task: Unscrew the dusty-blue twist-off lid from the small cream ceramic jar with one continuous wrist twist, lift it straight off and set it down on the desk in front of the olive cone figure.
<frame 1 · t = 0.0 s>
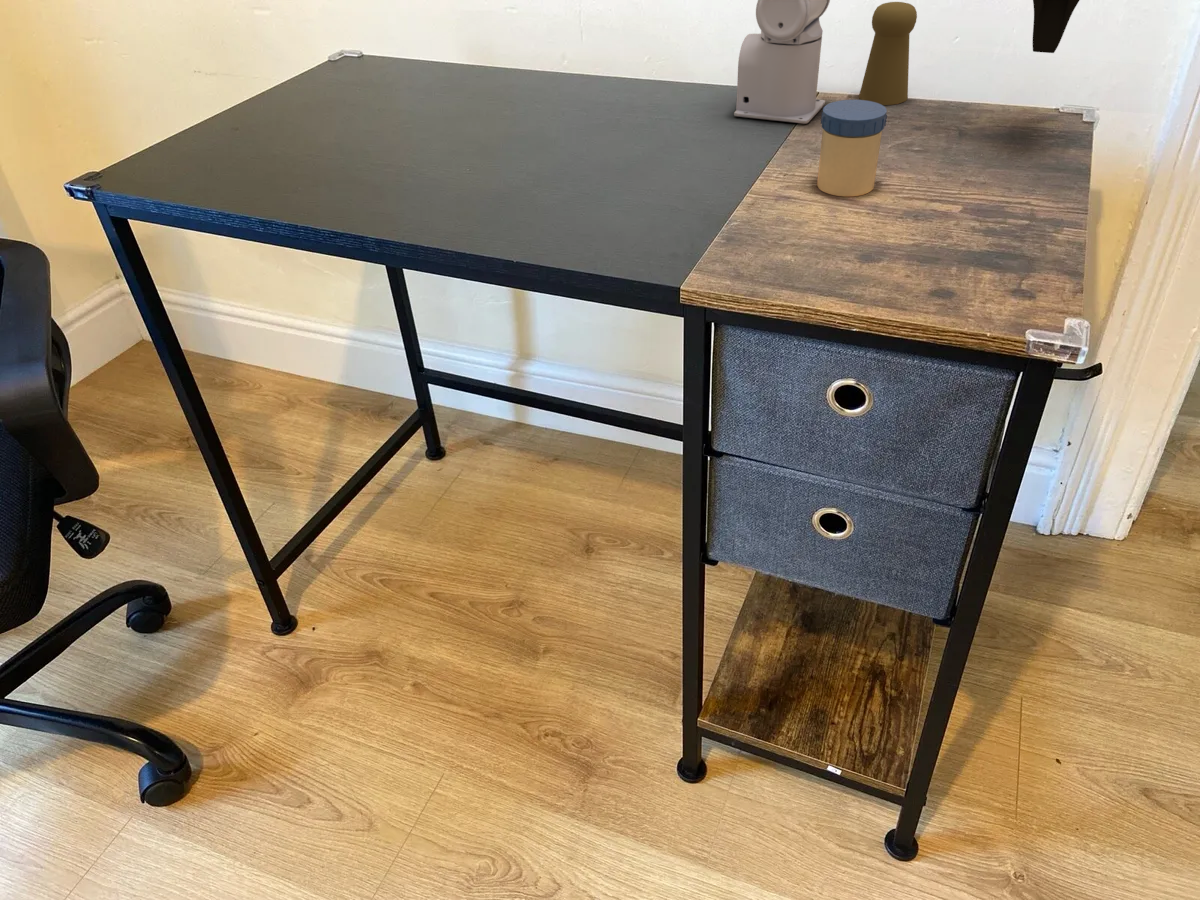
hand: (1047, 41, 93), 10 cm above the table, tool pointing down, fingers open, 7 cm apart
lid: (854, 112, 87), point 7 cm above the table, screwed on, not yet turned
jar: (845, 185, 92), on the table
olive cone figure: (882, 98, 113), on the table
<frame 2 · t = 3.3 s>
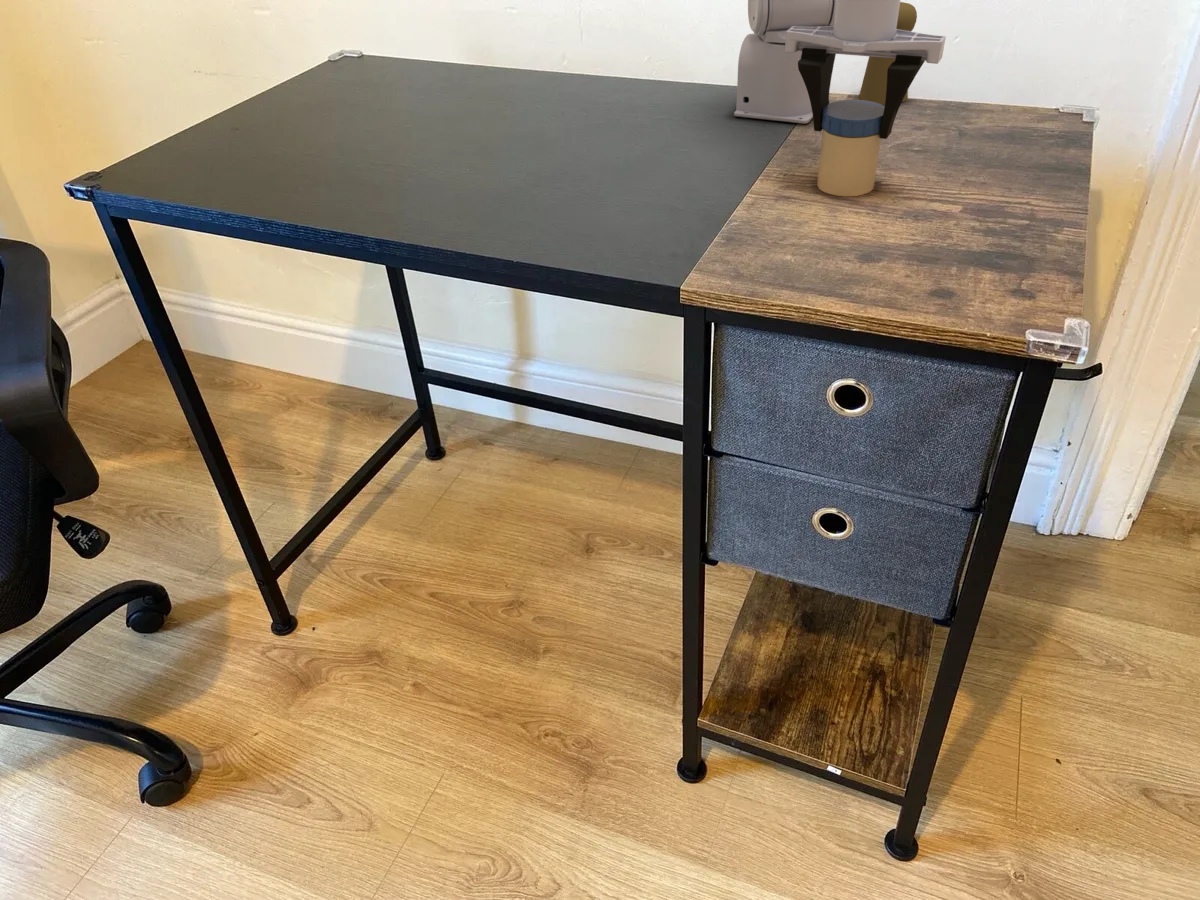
hand: (851, 131, 88), 6 cm above the table, tool pointing down, fingers closed on lid, 6 cm apart
lid: (854, 112, 87), point 7 cm above the table, screwed on, not yet turned, touching gripper
everything else where it was.
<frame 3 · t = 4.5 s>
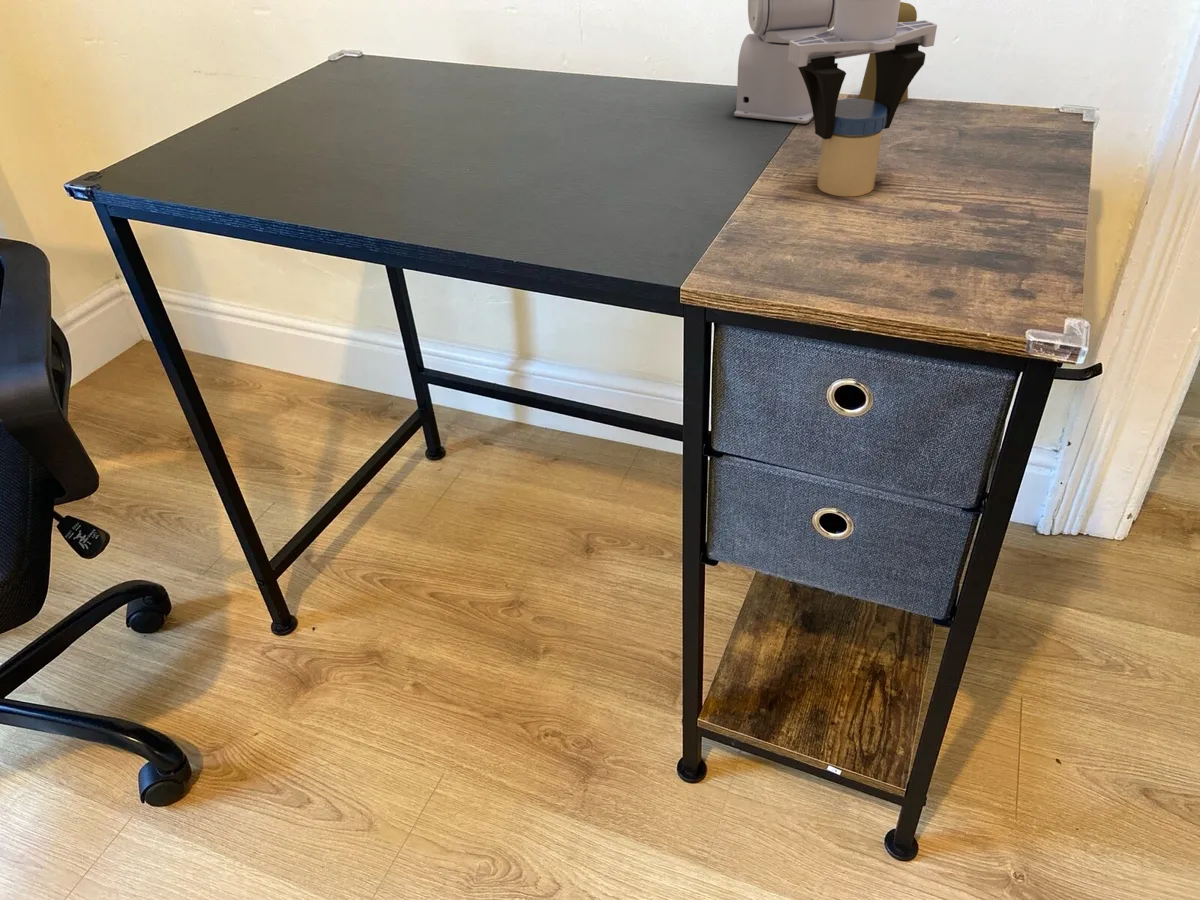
hand: (852, 130, 88), 6 cm above the table, tool pointing down, fingers closed on lid, 6 cm apart
lid: (854, 111, 87), point 8 cm above the table, turned 44° so far, risen 0.1 cm, still on its thread, touching gripper
everything else where it was.
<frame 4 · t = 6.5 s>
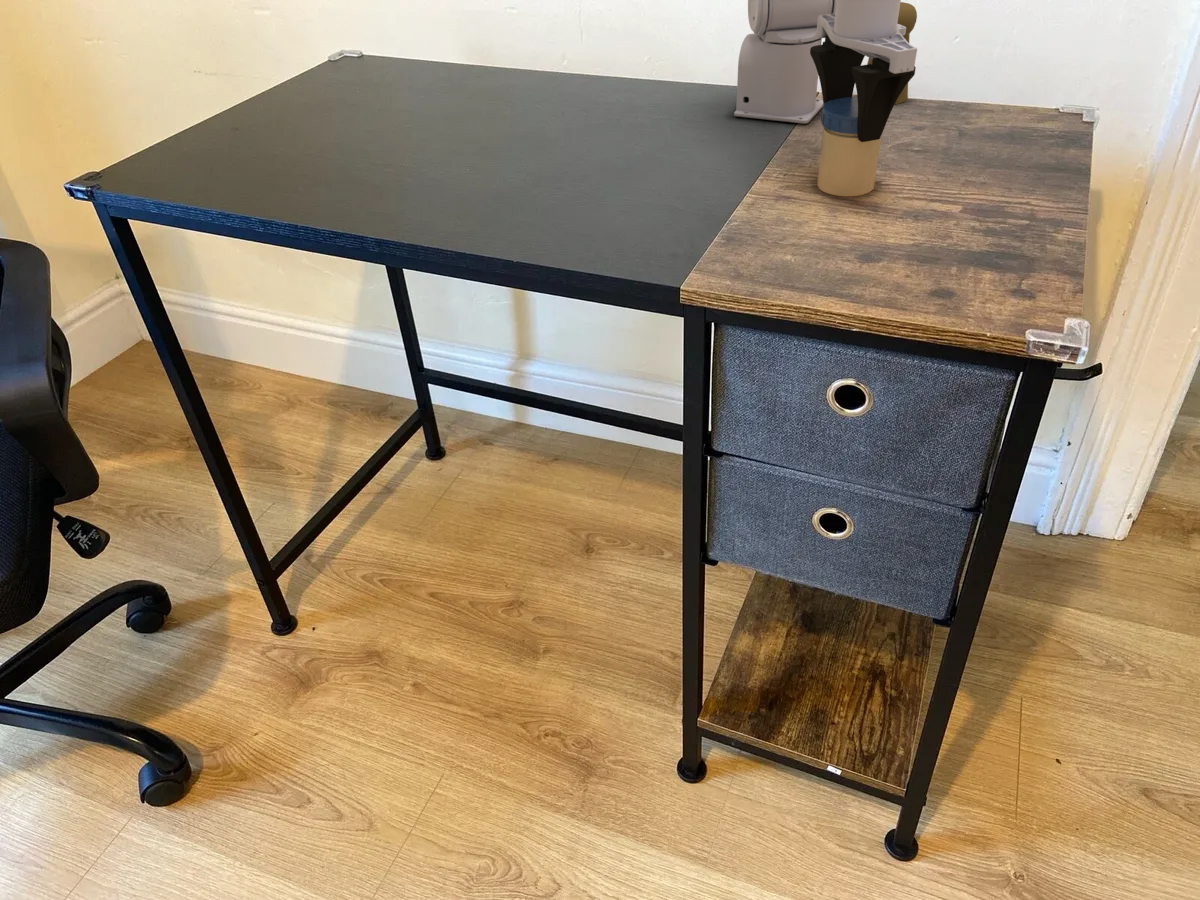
hand: (852, 129, 88), 6 cm above the table, tool pointing down, fingers closed on lid, 6 cm apart
lid: (854, 110, 87), point 8 cm above the table, off its thread, touching gripper
jar: (845, 185, 92), on the table, touching gripper
everything else where it was.
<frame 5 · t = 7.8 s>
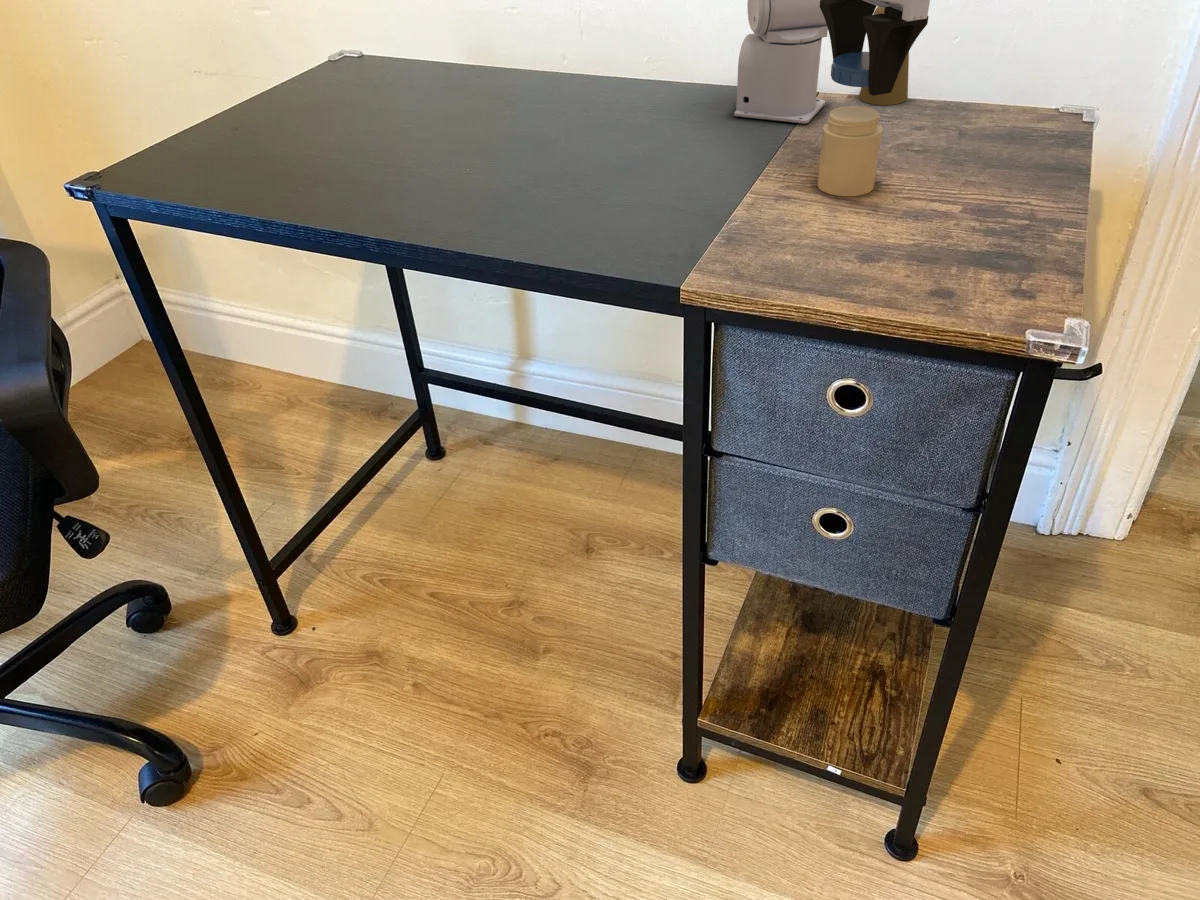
hand: (862, 84, 86), 10 cm above the table, tool pointing down, fingers closed on lid, 6 cm apart
lid: (864, 63, 85), point 12 cm above the table, off its thread, touching gripper
jar: (845, 185, 92), on the table
everything else where it was.
when the fingers open (0 cm above the table, at t = 12.4 s): lid stays where it is, point 1 cm above the table.
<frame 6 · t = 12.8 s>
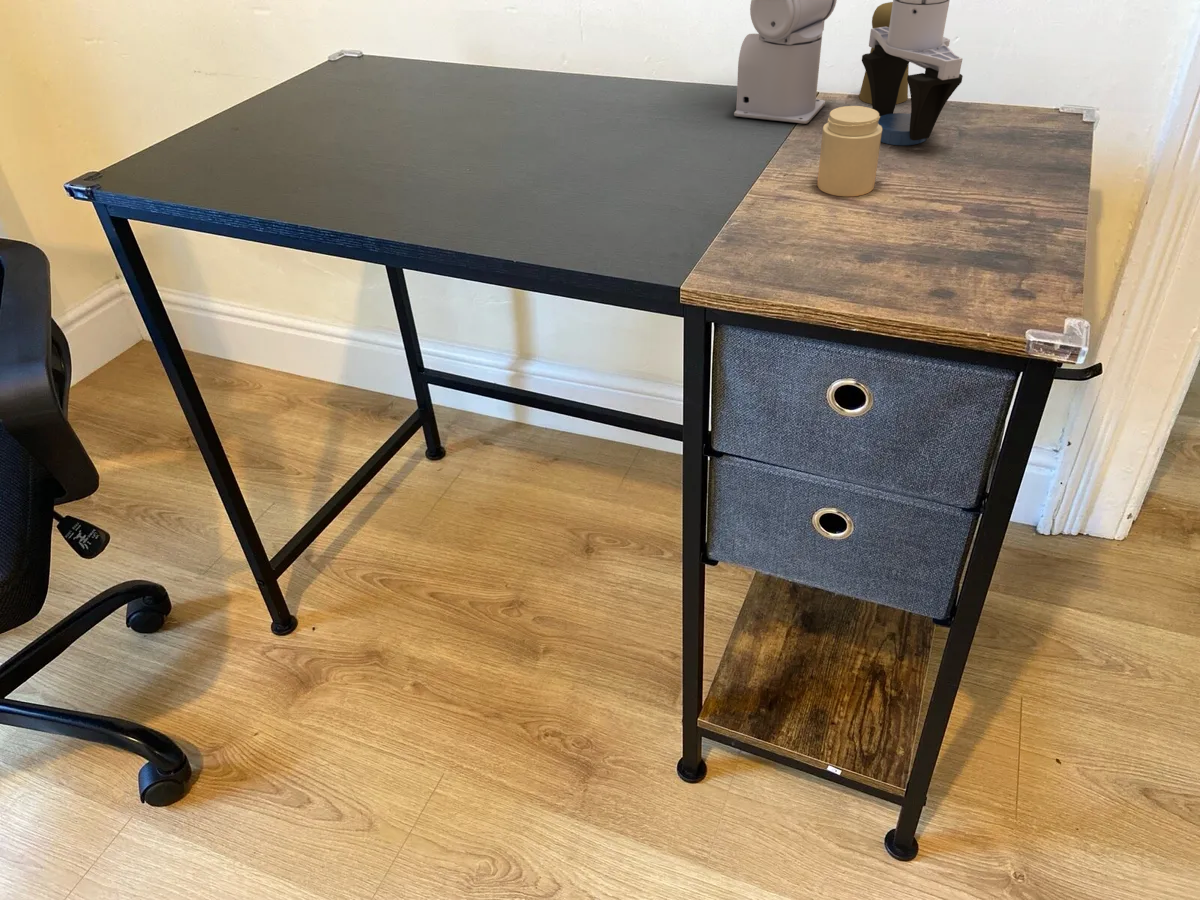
hand: (900, 127, 101), 1 cm above the table, tool pointing down, fingers open, 7 cm apart
lid: (901, 124, 101), point 1 cm above the table, off its thread
everything else where it was.
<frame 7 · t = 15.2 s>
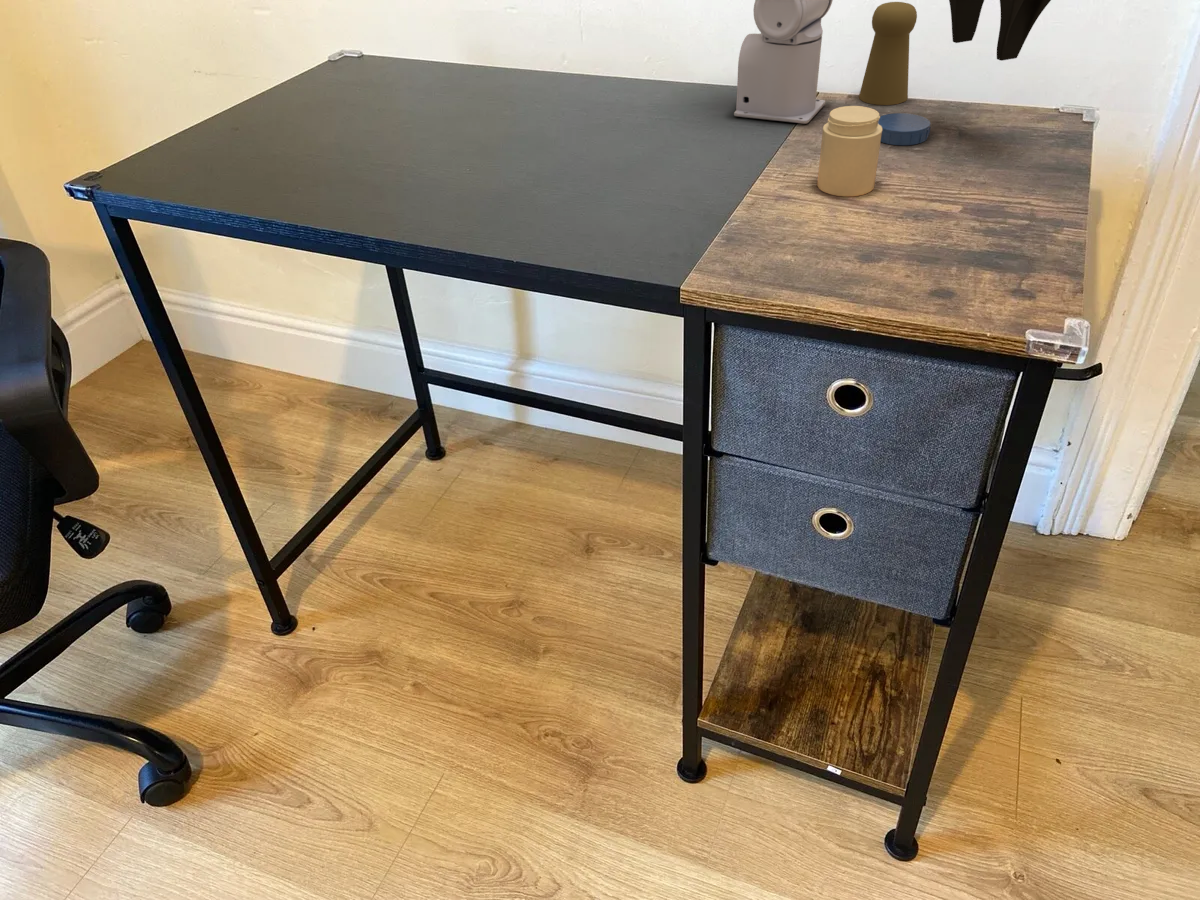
hand: (983, 49, 94), 9 cm above the table, tool pointing down, fingers open, 7 cm apart
nothing on the table moved.
at the end: the gripper is holding nothing; lid point 1.3 cm above the table; lid inside the target area on the table beside the olive cone figure (1.1 cm from its centre), point 1.5 cm above the table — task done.
